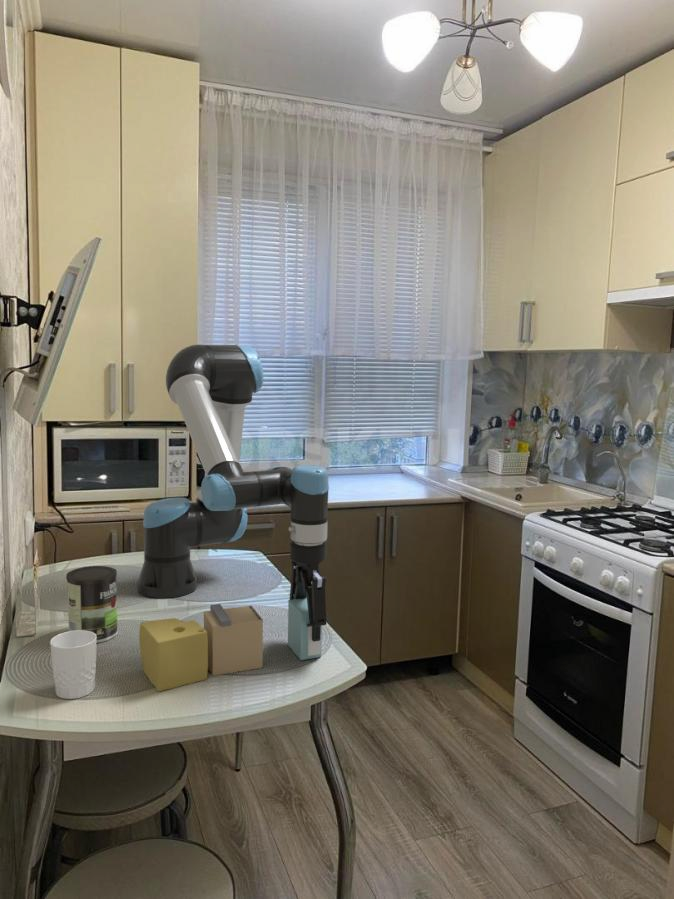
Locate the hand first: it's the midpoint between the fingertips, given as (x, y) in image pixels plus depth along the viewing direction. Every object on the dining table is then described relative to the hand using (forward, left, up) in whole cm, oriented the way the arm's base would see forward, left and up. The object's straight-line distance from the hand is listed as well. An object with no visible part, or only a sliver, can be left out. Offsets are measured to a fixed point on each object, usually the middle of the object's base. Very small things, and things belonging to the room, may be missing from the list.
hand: (306, 645), depth 144 cm
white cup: (+1, -46, -1) cm, 46 cm away
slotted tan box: (0, -16, -1) cm, 16 cm away
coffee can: (-24, -41, -1) cm, 47 cm away
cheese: (+1, -28, -2) cm, 28 cm away
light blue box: (0, 0, -1) cm, 1 cm away
